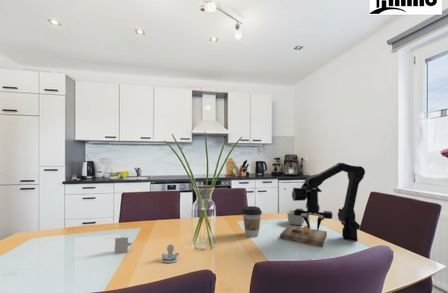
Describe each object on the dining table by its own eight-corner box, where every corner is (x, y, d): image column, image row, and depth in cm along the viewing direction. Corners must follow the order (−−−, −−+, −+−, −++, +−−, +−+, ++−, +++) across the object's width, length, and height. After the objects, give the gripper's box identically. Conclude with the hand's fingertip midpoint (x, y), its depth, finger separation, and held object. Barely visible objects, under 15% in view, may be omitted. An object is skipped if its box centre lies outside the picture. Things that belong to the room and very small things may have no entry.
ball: (312, 229, 123) (307, 223, 124) (311, 232, 119) (306, 225, 121) (307, 233, 124) (302, 227, 126) (305, 235, 121) (300, 229, 122)
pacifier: (177, 263, 94) (179, 256, 100) (177, 248, 94) (179, 242, 100) (159, 264, 93) (162, 257, 99) (159, 249, 93) (162, 243, 99)
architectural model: (117, 251, 106) (117, 235, 106) (132, 250, 107) (132, 234, 107) (114, 254, 103) (114, 238, 103) (130, 253, 104) (130, 237, 104)
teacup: (307, 227, 141) (307, 214, 141) (289, 226, 141) (289, 214, 141) (300, 220, 155) (300, 208, 155) (284, 220, 155) (284, 208, 155)
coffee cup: (240, 237, 123) (240, 209, 123) (243, 230, 134) (243, 205, 134) (261, 239, 120) (261, 211, 121) (262, 232, 131) (262, 206, 132)
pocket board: (326, 235, 125) (326, 231, 125) (322, 247, 110) (322, 242, 110) (288, 229, 136) (288, 225, 136) (280, 238, 121) (280, 234, 121)
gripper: (332, 199, 124) (334, 228, 123) (297, 196, 133) (298, 223, 132) (330, 202, 114) (332, 234, 113) (293, 199, 124) (294, 228, 122)
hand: (313, 229), depth 120 cm, fingers open, 4 cm apart
